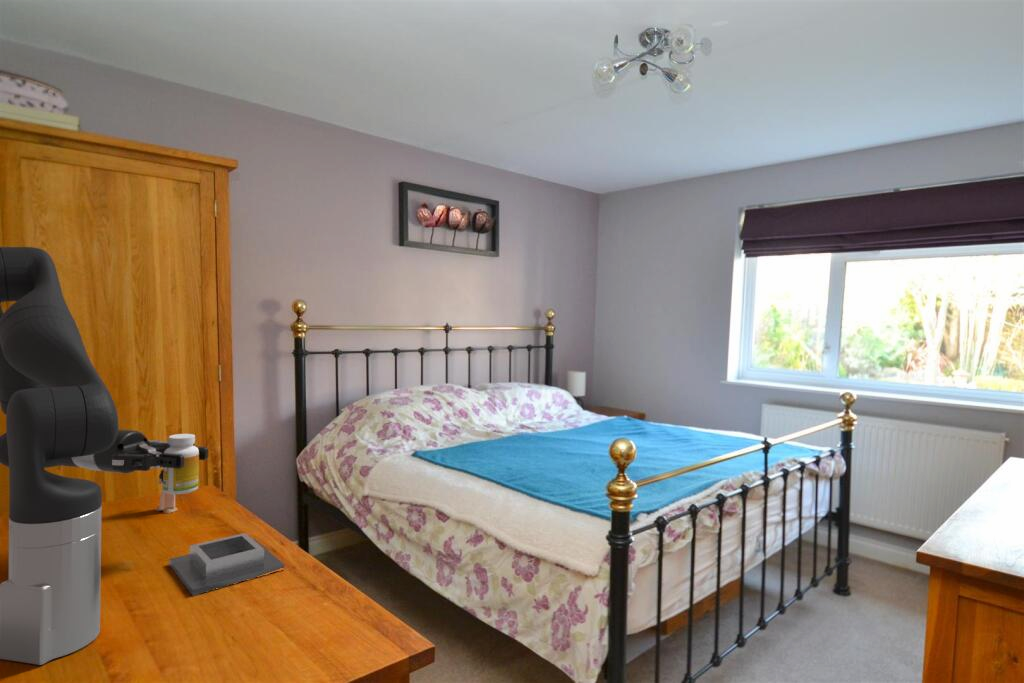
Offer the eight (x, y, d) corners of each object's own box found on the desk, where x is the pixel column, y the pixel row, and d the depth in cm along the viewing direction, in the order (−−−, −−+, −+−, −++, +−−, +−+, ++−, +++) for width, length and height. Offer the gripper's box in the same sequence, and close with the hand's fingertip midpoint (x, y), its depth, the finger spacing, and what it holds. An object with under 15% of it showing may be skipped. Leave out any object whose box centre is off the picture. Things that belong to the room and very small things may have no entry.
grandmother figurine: (146, 511, 119) (147, 452, 119) (162, 505, 123) (163, 448, 122) (174, 516, 117) (175, 456, 117) (189, 510, 121) (190, 452, 120)
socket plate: (284, 570, 95) (284, 550, 95) (192, 596, 85) (193, 573, 85) (254, 544, 105) (254, 525, 105) (169, 564, 95) (169, 544, 95)
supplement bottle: (205, 486, 101) (206, 433, 101) (184, 496, 96) (186, 440, 95) (177, 484, 101) (178, 431, 101) (155, 493, 96) (156, 438, 96)
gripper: (73, 437, 93) (164, 445, 91) (142, 422, 107) (222, 428, 105) (73, 481, 93) (163, 490, 91) (141, 460, 108) (221, 468, 105)
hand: (194, 457), depth 98 cm, fingers closed on supplement bottle, 5 cm apart
